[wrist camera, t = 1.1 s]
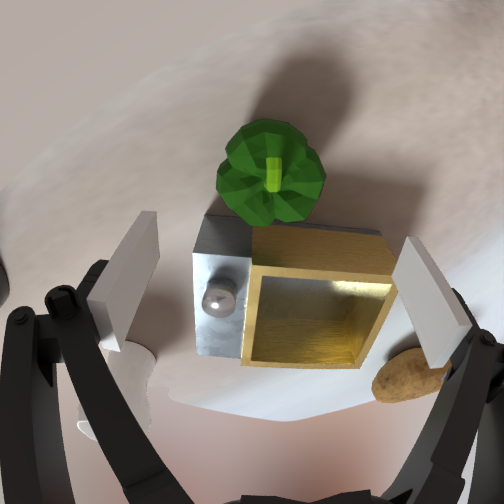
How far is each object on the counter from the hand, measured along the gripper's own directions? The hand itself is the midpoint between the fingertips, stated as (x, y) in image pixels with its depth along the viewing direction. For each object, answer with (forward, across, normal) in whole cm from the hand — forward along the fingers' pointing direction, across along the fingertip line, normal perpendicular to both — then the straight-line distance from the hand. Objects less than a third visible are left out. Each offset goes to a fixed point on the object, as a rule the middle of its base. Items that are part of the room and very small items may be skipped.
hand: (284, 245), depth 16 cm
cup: (+16, -18, -33) cm, 41 cm away
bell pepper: (+16, 0, 0) cm, 16 cm away
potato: (+16, +26, -29) cm, 42 cm away
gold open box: (+16, +3, -14) cm, 21 cm away
